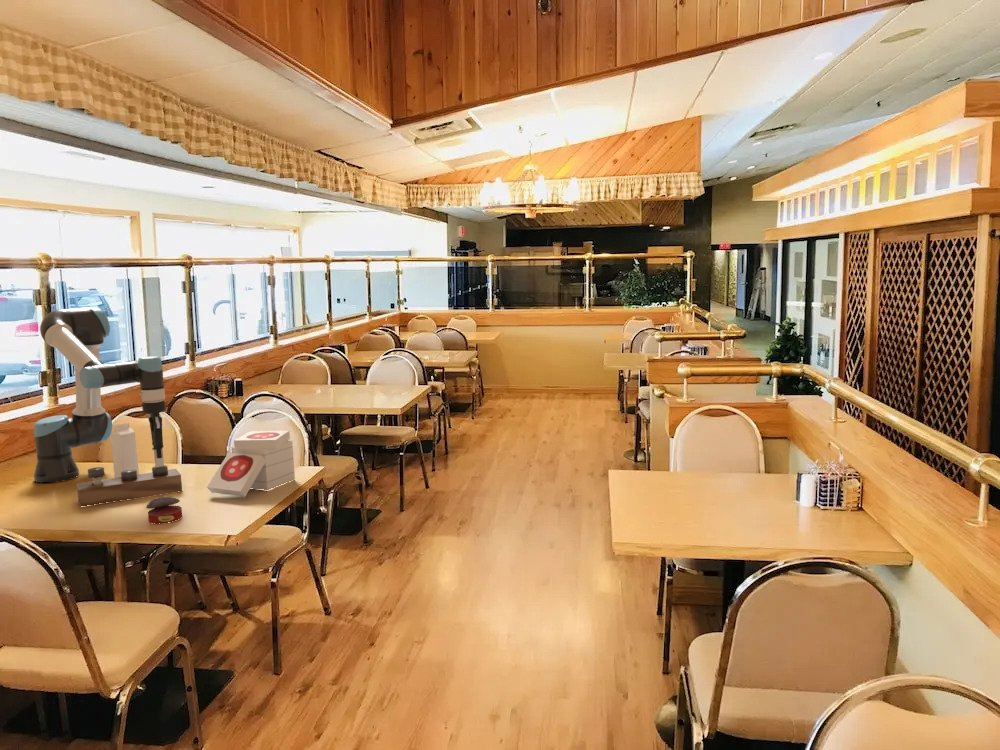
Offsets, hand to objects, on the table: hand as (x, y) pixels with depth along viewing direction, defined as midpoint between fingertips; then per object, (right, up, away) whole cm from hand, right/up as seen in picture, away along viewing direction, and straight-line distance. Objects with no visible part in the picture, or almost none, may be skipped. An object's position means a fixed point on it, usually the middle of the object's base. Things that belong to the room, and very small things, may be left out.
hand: (159, 466), depth 279 cm
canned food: (+15, -13, -30) cm, 36 cm away
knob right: (0, -7, +1) cm, 7 cm away
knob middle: (-8, -8, -4) cm, 12 cm away
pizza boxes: (+33, -8, +1) cm, 34 cm away
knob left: (-17, -6, -10) cm, 20 cm away
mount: (-8, -10, -4) cm, 13 cm away
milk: (-18, -8, +14) cm, 24 cm away
